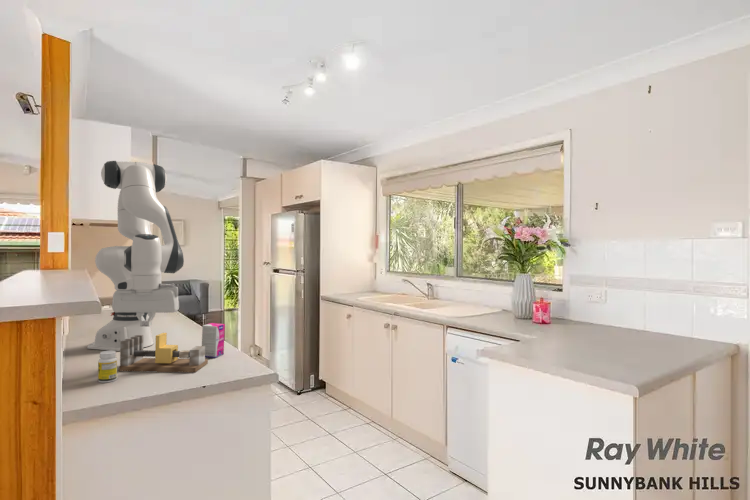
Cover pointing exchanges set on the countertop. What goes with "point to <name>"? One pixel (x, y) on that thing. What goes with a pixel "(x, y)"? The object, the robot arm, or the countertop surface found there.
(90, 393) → the countertop surface
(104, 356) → the supplement bottle
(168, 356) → the yellow l-shaped block
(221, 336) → the supplement box
